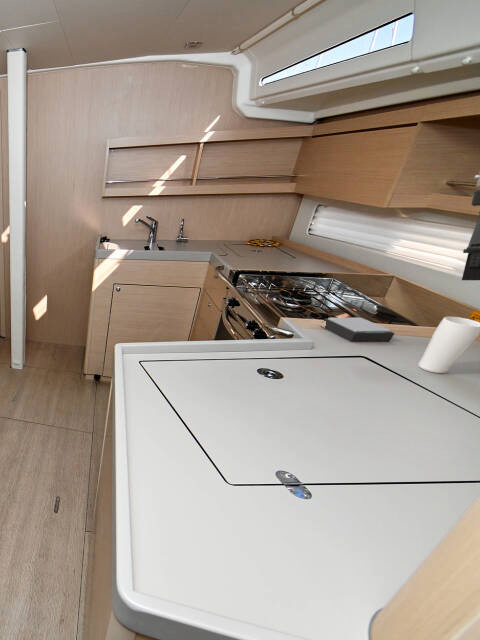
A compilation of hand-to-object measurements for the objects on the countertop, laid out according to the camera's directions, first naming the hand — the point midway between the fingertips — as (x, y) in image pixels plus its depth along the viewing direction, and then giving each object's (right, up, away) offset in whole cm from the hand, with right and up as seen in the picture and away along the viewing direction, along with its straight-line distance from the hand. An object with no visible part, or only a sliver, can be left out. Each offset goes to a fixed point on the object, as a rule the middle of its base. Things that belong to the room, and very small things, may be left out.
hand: (479, 277), depth 88 cm
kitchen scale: (+5, -14, +33) cm, 36 cm away
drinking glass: (+4, -24, +12) cm, 28 cm away
